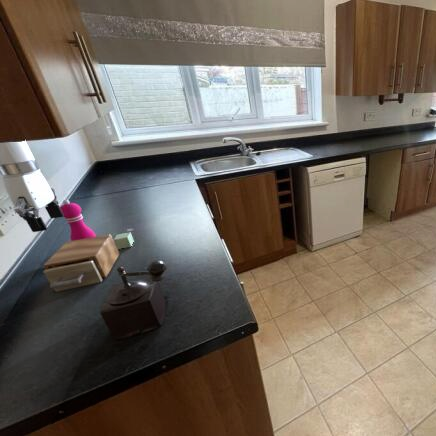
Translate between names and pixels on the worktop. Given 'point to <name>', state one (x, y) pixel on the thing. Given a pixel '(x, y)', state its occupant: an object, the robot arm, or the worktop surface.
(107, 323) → the manual coffee grinder
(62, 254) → the cabinet
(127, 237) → the block
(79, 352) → the worktop surface
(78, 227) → the pepper mill
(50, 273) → the drawer
